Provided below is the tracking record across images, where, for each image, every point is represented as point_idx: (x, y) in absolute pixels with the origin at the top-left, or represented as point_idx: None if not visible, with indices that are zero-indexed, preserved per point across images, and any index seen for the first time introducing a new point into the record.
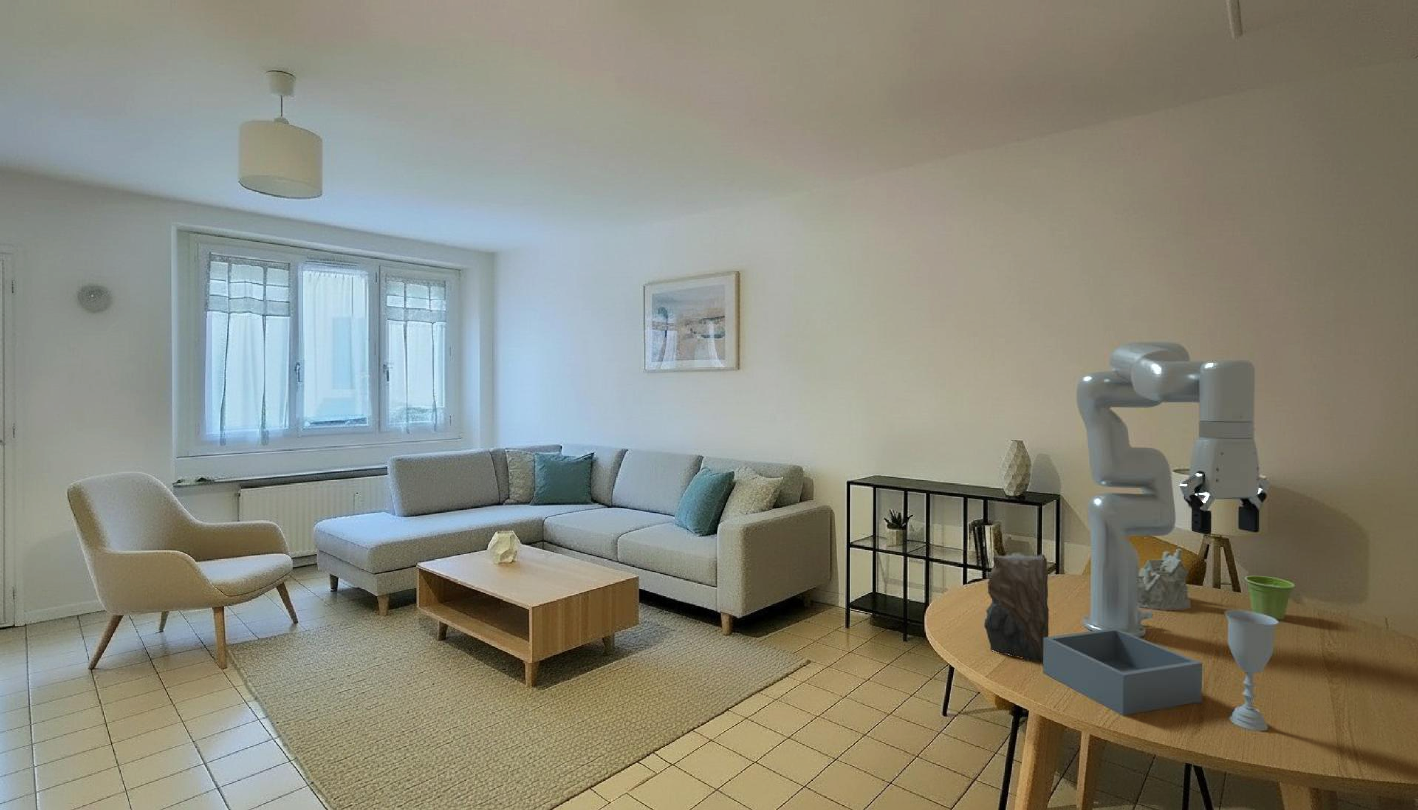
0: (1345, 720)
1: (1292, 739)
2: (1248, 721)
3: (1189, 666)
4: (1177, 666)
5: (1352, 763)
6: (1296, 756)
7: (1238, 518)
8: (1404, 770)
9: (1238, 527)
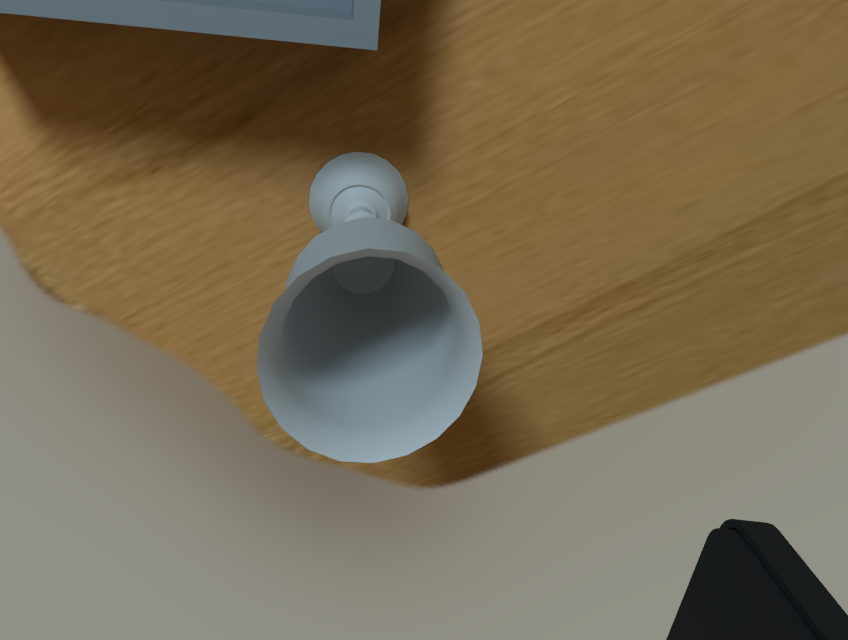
0: (654, 294)
1: None
2: (324, 227)
3: (298, 42)
4: (228, 32)
5: None
6: None
7: (788, 619)
8: (462, 478)
9: (723, 529)
